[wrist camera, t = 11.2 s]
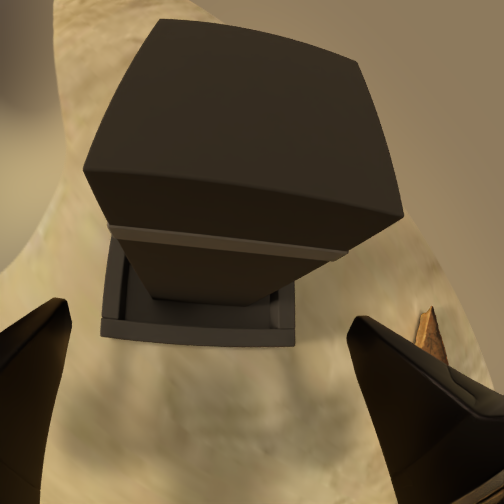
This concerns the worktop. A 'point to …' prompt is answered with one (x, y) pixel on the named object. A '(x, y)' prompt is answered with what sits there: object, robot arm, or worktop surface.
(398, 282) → the worktop surface
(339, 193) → the dark banded block
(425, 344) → the shard
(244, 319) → the base pad
